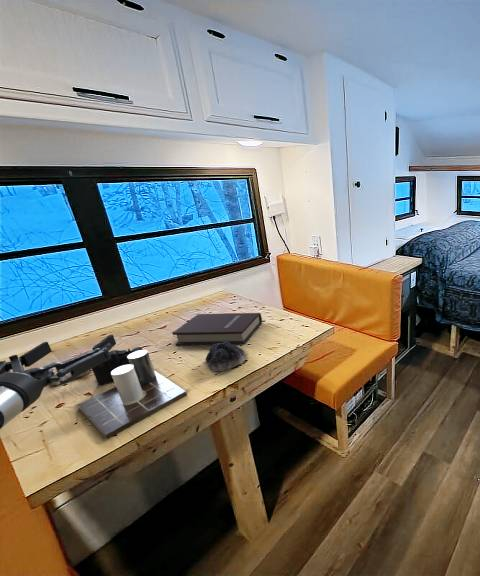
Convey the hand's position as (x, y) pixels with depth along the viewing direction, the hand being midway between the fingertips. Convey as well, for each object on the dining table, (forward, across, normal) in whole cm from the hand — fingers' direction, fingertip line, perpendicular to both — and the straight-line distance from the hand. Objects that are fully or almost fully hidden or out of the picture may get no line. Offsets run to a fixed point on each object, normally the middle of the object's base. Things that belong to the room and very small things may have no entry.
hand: (81, 342), depth 75 cm
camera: (+28, -11, -26) cm, 40 cm away
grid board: (+10, 0, -26) cm, 28 cm away
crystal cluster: (+25, +23, -26) cm, 43 cm away
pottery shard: (+31, -28, -26) cm, 49 cm away
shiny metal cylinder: (+18, 0, -24) cm, 30 cm away
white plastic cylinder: (+10, 0, -24) cm, 26 cm away
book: (+50, +15, -26) cm, 58 cm away
